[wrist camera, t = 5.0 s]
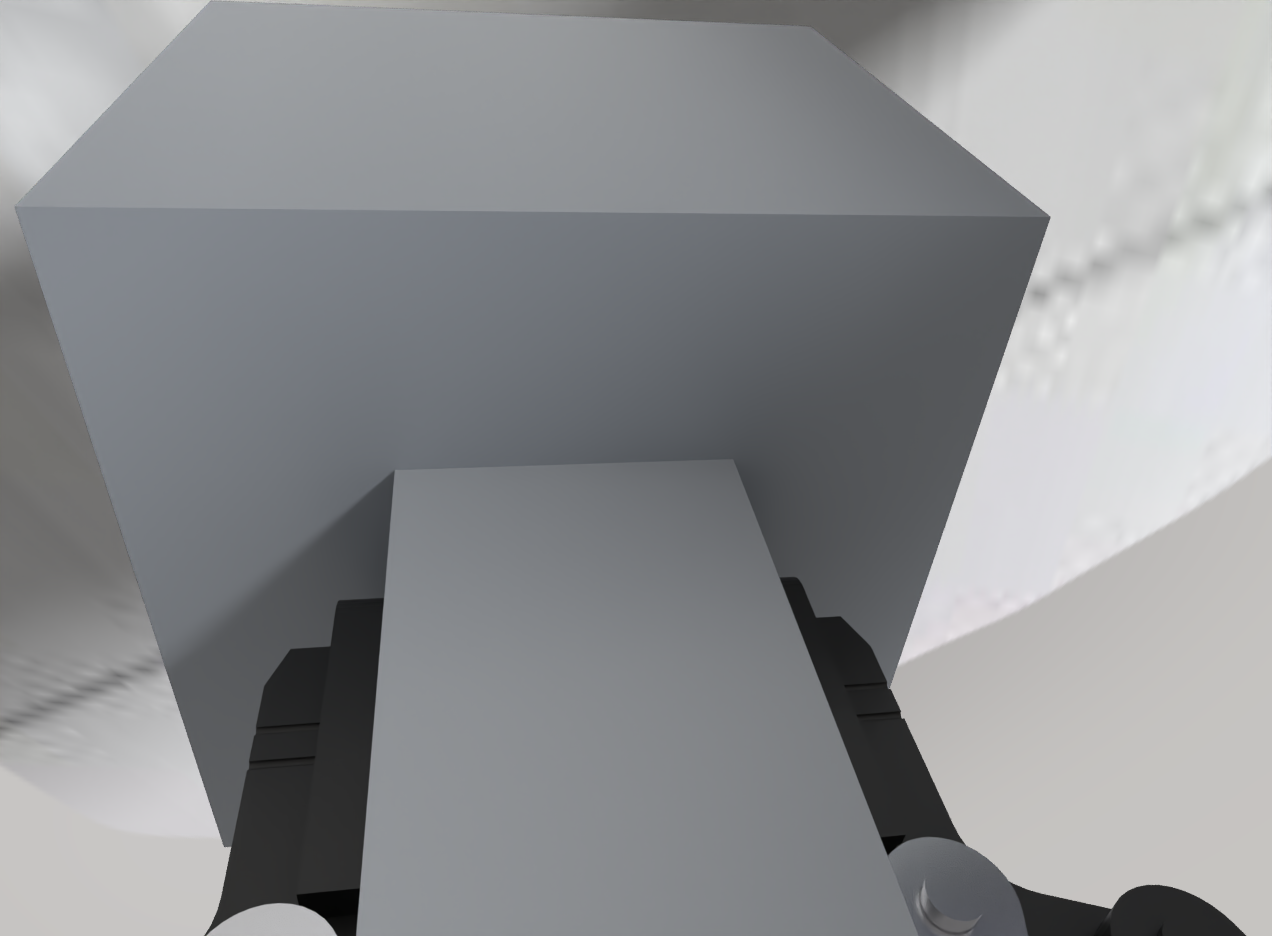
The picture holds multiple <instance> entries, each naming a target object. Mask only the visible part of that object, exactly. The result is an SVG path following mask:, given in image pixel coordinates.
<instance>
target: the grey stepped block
mask: <svg viewBox="0 0 1272 936" xmlns="http://www.w3.org/2000/svg"><path fill="white" fill-rule="evenodd" d="M15 209H16V212H17V215H18V219H19V222H20V225H21V228H22V231H23V234H24V237H25V240H26V243H27V246H28V249H29V252H30V255H31V258H32V261H33V264H34V267H35V270H36V274H37V277H38V280H39V283H40V286H41V289H42V292H43V295H44V298H45V301H46V304H47V307H48V310H49V313H50V316H51V319H52V322H53V326H54V329H55V332H56V335H57V338H58V341H59V344H60V347H61V350H62V353H63V356H64V359H65V362H66V365H67V368H68V371H69V374H70V377H71V381H72V384H73V387H74V390H75V393H76V396H77V399H78V402H79V405H80V408H81V411H82V414H83V417H84V420H85V423H86V426H87V429H88V432H89V436H90V439H91V442H92V445H93V448H94V451H95V454H96V457H97V460H98V463H99V466H100V469H101V472H102V475H103V478H104V481H105V484H106V488H107V491H108V494H109V497H110V500H111V503H112V506H113V509H114V512H115V515H116V518H117V521H118V524H119V527H120V530H121V533H122V536H123V539H124V543H125V546H126V549H127V552H128V555H129V558H130V561H131V564H132V567H133V570H134V573H135V576H136V579H137V582H138V585H139V588H140V591H141V595H142V598H143V601H144V604H145V607H146V610H147V613H148V616H149V619H150V622H151V625H152V628H153V631H154V634H155V637H156V640H157V643H158V646H159V650H160V653H161V656H162V659H163V662H164V665H165V668H166V671H167V674H168V677H169V680H170V683H171V686H172V689H173V692H174V695H175V698H176V701H177V705H178V708H179V711H180V714H181V717H182V720H183V723H184V726H185V729H186V732H187V735H188V738H189V741H190V744H191V747H192V750H193V753H194V757H195V760H196V763H197V766H198V769H199V772H200V775H201V778H202V781H203V784H204V787H205V790H206V793H207V796H208V799H209V802H210V805H211V808H212V812H213V815H214V818H215V821H216V824H217V827H218V830H219V833H220V836H221V839H222V842H223V845H224V847H232V842H233V837H234V832H235V827H236V822H237V817H238V812H239V807H240V802H241V797H242V792H243V787H244V782H245V777H246V773H247V770H249V758H250V753H251V748H252V743H253V738H254V735H256V723H257V718H258V713H259V708H260V703H261V699H262V694H263V689H264V685H265V684H266V682H267V681H268V680H269V678H270V677H271V675H272V674H273V673H274V671H275V670H276V669H277V667H278V666H279V664H280V663H281V662H282V660H283V659H284V657H285V656H286V655H287V653H288V652H289V650H290V649H296V648H312V647H329V646H331V638H332V631H333V624H334V617H335V610H336V605H337V602H338V601H339V600H352V599H370V598H384V607H383V619H382V631H381V643H380V655H379V667H378V679H377V691H376V703H375V715H374V727H373V739H372V751H371V763H370V775H369V787H368V799H367V812H366V824H365V836H364V848H363V860H362V872H361V884H360V896H359V908H358V920H357V932H356V936H918V933H917V931H916V928H915V925H914V923H913V920H912V918H911V915H910V913H909V910H908V907H907V905H906V902H905V900H904V897H903V895H902V892H901V889H900V887H899V884H898V882H897V879H896V877H895V874H894V871H893V869H892V866H891V864H890V861H889V859H888V856H887V853H886V851H885V848H884V846H883V843H882V841H881V838H880V835H879V833H878V830H877V828H876V825H875V823H874V820H873V817H872V815H871V812H870V810H869V807H868V805H867V802H866V799H865V797H864V794H863V792H862V789H861V787H860V784H859V781H858V779H857V776H856V774H855V771H854V769H853V766H852V763H851V761H850V758H849V756H848V753H847V751H846V748H845V745H844V743H843V740H842V738H841V735H840V733H839V730H838V727H837V725H836V722H835V720H834V717H833V715H832V712H831V709H830V707H829V704H828V702H827V699H826V697H825V694H824V691H823V689H822V686H821V684H820V681H819V679H818V676H817V673H816V671H815V668H814V666H813V663H812V661H811V658H810V655H809V653H808V650H807V648H806V645H805V643H804V640H803V637H802V635H801V632H800V630H799V627H798V625H797V622H796V619H795V617H794V614H793V612H792V609H791V607H790V604H789V601H788V599H787V596H786V594H785V591H784V589H783V586H782V583H781V581H780V578H779V577H796V578H798V579H799V580H800V582H801V583H802V585H803V587H804V590H805V592H806V594H807V597H808V599H809V602H810V604H811V607H812V609H813V611H814V614H815V616H816V618H819V617H836V616H841V617H842V618H843V619H844V620H845V621H846V622H847V623H848V624H849V625H850V626H851V627H852V628H853V629H854V630H855V631H856V632H857V633H858V634H859V635H860V636H861V637H862V638H863V639H864V640H865V641H866V642H867V643H868V644H869V645H870V646H871V648H872V650H873V652H874V654H875V656H876V658H877V661H878V663H879V665H880V667H881V669H882V671H883V674H884V676H885V678H886V680H887V687H888V689H889V688H890V685H891V683H892V680H893V677H894V674H895V671H896V668H897V665H898V662H899V659H900V656H901V653H902V650H903V647H904V645H905V642H906V639H907V636H908V633H909V630H910V627H911V624H912V621H913V618H914V615H915V612H916V609H917V607H918V604H919V601H920V598H921V595H922V592H923V589H924V586H925V583H926V580H927V577H928V574H929V571H930V568H931V566H932V563H933V560H934V557H935V554H936V551H937V548H938V545H939V542H940V539H941V536H942V533H943V530H944V528H945V525H946V522H947V519H948V516H949V513H950V510H951V507H952V504H953V501H954V498H955V495H956V492H957V489H958V487H959V484H960V481H961V478H962V475H963V472H964V469H965V466H966V463H967V460H968V457H969V454H970V451H971V449H972V446H973V443H974V440H975V437H976V434H977V431H978V428H979V425H980V422H981V419H982V416H983V413H984V410H985V408H986V405H987V402H988V399H989V396H990V393H991V390H992V387H993V384H994V381H995V378H996V375H997V372H998V370H999V367H1000V364H1001V361H1002V358H1003V355H1004V352H1005V349H1006V346H1007V343H1008V340H1009V337H1010V334H1011V331H1012V329H1013V326H1014V323H1015V320H1016V317H1017V314H1018V311H1019V308H1020V305H1021V302H1022V299H1023V296H1024V293H1025V291H1026V288H1027V285H1028V282H1029V279H1030V276H1031V273H1032V270H1033V267H1034V264H1035V261H1036V258H1037V255H1038V252H1039V250H1040V247H1041V244H1042V241H1043V238H1044V235H1045V232H1046V229H1047V226H1048V223H1049V220H1050V216H1049V215H1048V214H1046V213H1045V212H1044V211H1043V210H1041V209H1040V208H1039V207H1038V206H1036V205H1035V204H1034V203H1033V202H1031V201H1030V200H1029V199H1028V198H1026V197H1025V196H1024V195H1022V194H1021V193H1020V192H1019V191H1017V190H1016V189H1015V188H1014V187H1012V186H1011V185H1010V184H1009V183H1007V182H1006V181H1005V180H1004V179H1002V178H1001V177H1000V176H999V175H997V174H996V173H995V172H994V171H992V170H991V169H990V168H988V167H987V166H986V165H985V164H983V163H982V162H981V161H980V160H978V159H977V158H976V157H975V156H973V155H972V154H971V153H970V152H968V151H967V150H966V149H965V148H963V147H962V146H961V145H960V144H958V143H957V142H956V141H954V140H953V139H952V138H951V137H949V136H948V135H947V134H946V133H944V132H943V131H942V130H941V129H939V128H938V127H937V126H936V125H934V124H933V123H932V122H931V121H929V120H928V119H927V118H926V117H924V116H923V115H922V114H920V113H919V112H918V111H917V110H915V109H914V108H913V107H912V106H910V105H909V104H908V103H907V102H905V101H904V100H903V99H902V98H900V97H899V96H898V95H897V94H895V93H894V92H893V91H892V90H890V89H889V88H888V87H886V86H885V85H884V84H883V83H881V82H880V81H879V80H878V79H876V78H875V77H874V76H873V75H871V74H870V73H869V72H868V71H866V70H865V69H864V68H863V67H861V66H860V65H859V64H858V63H856V62H855V61H854V60H852V59H851V58H850V57H849V56H847V55H846V54H845V53H844V52H842V51H841V50H840V49H839V48H837V47H836V46H835V45H834V44H832V43H831V42H830V41H829V40H827V39H826V38H825V37H824V36H822V35H821V34H820V33H818V32H817V31H816V30H815V29H813V28H812V27H811V26H793V25H770V24H746V23H723V22H700V21H677V20H654V19H630V18H607V17H584V16H561V15H538V14H514V13H491V12H468V11H445V10H421V9H398V8H375V7H352V6H329V5H305V4H282V3H259V2H236V1H213V0H211V1H210V2H209V3H208V4H207V5H206V6H205V7H204V8H203V9H202V10H201V11H200V12H199V13H198V14H197V16H196V17H195V18H194V19H193V20H192V21H191V22H190V23H189V24H188V25H187V26H186V27H185V28H184V29H183V30H182V31H181V32H180V33H179V34H178V35H177V37H176V38H175V39H174V40H173V41H172V42H171V43H170V44H169V45H168V46H167V47H166V48H165V49H164V50H163V51H162V52H161V53H160V54H159V55H158V56H157V58H156V59H155V60H154V61H153V62H152V63H151V64H150V65H149V66H148V67H147V68H146V69H145V70H144V71H143V72H142V73H141V74H140V75H139V76H138V77H137V79H136V80H135V81H134V82H133V83H132V84H131V85H130V86H129V87H128V88H127V89H126V90H125V91H124V92H123V93H122V94H121V95H120V96H119V97H118V99H117V100H116V101H115V102H114V103H113V104H112V105H111V106H110V107H109V108H108V109H107V110H106V111H105V112H104V113H103V114H102V115H101V116H100V117H99V118H98V120H97V121H96V122H95V123H94V124H93V125H92V126H91V127H90V128H89V129H88V130H87V131H86V132H85V133H84V134H83V135H82V136H81V137H80V138H79V139H78V141H77V142H76V143H75V144H74V145H73V146H72V147H71V148H70V149H69V150H68V151H67V152H66V153H65V154H64V155H63V156H62V157H61V158H60V159H59V160H58V162H57V163H56V164H55V165H54V166H53V167H52V168H51V169H50V170H49V171H48V172H47V173H46V174H45V175H44V176H43V177H42V178H41V179H40V180H39V181H38V183H37V184H36V185H35V186H34V187H33V188H32V189H31V190H30V191H29V192H28V193H27V194H26V195H25V196H24V197H23V198H22V199H21V200H20V201H19V203H18V204H17V205H16V206H15Z"/></svg>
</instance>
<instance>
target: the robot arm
mask: <svg viewBox="0 0 1272 936" xmlns="http://www.w3.org/2000/svg"><path fill="white" fill-rule="evenodd" d="M779 578H780V581H781V583H782V586H783V589H784V591H785V594H786V596H787V599H788V601H789V604H790V607H791V609H792V612H793V614H794V617H795V619H796V622H797V625H798V627H799V630H800V632H801V635H802V637H803V640H804V643H805V645H806V648H807V650H808V653H809V655H810V658H811V661H812V663H813V666H814V668H815V671H816V673H817V676H818V679H819V681H820V684H821V686H822V689H823V691H824V694H825V697H826V699H827V702H828V704H829V707H830V709H831V712H832V715H833V717H834V720H835V722H836V725H837V727H838V730H839V733H840V735H841V738H842V740H843V743H844V745H845V748H846V751H847V753H848V756H849V758H850V761H851V763H852V766H853V769H854V771H855V774H856V776H857V779H858V781H859V784H860V787H861V789H862V792H863V794H864V797H865V799H866V802H867V805H868V807H869V810H870V812H871V815H872V817H873V820H874V823H875V825H876V828H877V830H878V833H879V835H880V838H881V841H882V843H883V846H884V848H885V851H886V853H887V856H888V859H889V861H890V864H891V866H892V869H893V871H894V874H895V877H896V879H897V882H898V884H899V887H900V889H901V892H902V895H903V897H904V900H905V902H906V905H907V907H908V910H909V913H910V915H911V918H912V920H913V923H914V925H915V928H916V931H917V933H918V936H1246V935H1245V934H1244V933H1243V932H1242V931H1241V930H1240V929H1239V928H1238V927H1237V926H1236V925H1235V924H1234V923H1233V922H1232V921H1230V920H1229V919H1228V918H1227V917H1226V916H1225V915H1224V914H1222V913H1221V912H1220V911H1218V910H1217V909H1216V908H1215V907H1213V906H1212V905H1210V904H1209V903H1207V902H1205V901H1204V900H1202V899H1200V898H1198V897H1196V896H1194V895H1192V894H1190V893H1187V892H1185V891H1182V890H1179V889H1176V888H1173V887H1168V886H1162V885H1145V886H1140V887H1136V888H1134V889H1131V890H1129V891H1127V892H1126V893H1125V894H1123V895H1122V896H1121V897H1120V898H1119V899H1118V901H1117V902H1116V904H1115V905H1114V907H1113V908H1112V909H1108V908H1104V907H1100V906H1095V905H1091V904H1086V903H1081V902H1077V901H1072V900H1068V899H1063V898H1059V897H1054V896H1050V895H1045V894H1040V893H1037V892H1033V891H1030V890H1027V889H1025V888H1022V887H1020V886H1017V885H1015V884H1013V883H1011V882H1009V881H1008V880H1007V878H1006V877H1005V876H1004V875H1003V873H1002V872H1001V871H1000V870H999V869H998V868H997V867H996V866H995V865H994V864H993V863H992V862H991V861H989V860H988V859H987V858H986V857H985V856H983V855H982V854H980V853H978V852H977V851H976V850H974V849H972V848H970V847H968V846H966V845H965V843H964V842H963V841H962V839H961V838H960V836H959V835H958V833H957V831H956V829H955V827H954V825H953V824H952V821H951V819H950V817H949V815H948V812H947V810H946V808H945V806H944V804H943V802H942V799H941V797H940V795H939V793H938V791H937V789H936V786H935V784H934V782H933V780H932V778H931V776H930V773H929V771H928V769H927V767H926V765H925V763H924V760H923V759H922V756H921V754H920V752H919V749H918V747H917V745H916V743H915V741H914V739H913V737H912V734H911V732H910V730H909V728H908V726H907V723H906V721H905V719H902V718H901V714H900V712H901V710H900V708H899V706H898V704H897V702H896V700H895V698H894V695H893V693H892V691H891V689H888V687H887V680H886V678H885V676H884V674H883V671H882V669H881V667H880V665H879V663H878V661H877V658H876V656H875V654H874V652H873V650H872V648H871V646H870V645H869V644H868V643H867V642H866V641H865V640H864V639H863V638H862V637H861V636H860V635H859V634H858V633H857V632H856V631H855V630H854V629H853V628H852V627H851V626H850V625H849V624H848V623H847V622H846V621H845V620H844V619H843V618H842V617H841V616H836V617H819V618H816V616H815V614H814V611H813V609H812V607H811V604H810V602H809V599H808V597H807V594H806V592H805V590H804V587H803V585H802V583H801V582H800V580H799V579H798V578H796V577H779ZM383 607H384V598H370V599H352V600H339V601H338V602H337V605H336V610H335V617H334V624H333V631H332V638H331V646H329V647H312V648H296V649H290V650H289V652H288V653H287V655H286V656H285V657H284V659H283V660H282V662H281V663H280V664H279V666H278V667H277V669H276V670H275V671H274V673H273V674H272V675H271V677H270V678H269V680H268V681H267V682H266V684H265V685H264V689H263V694H262V699H261V703H260V708H259V713H258V718H257V723H256V735H254V738H253V743H252V748H251V753H250V758H249V770H247V773H246V777H245V782H244V787H243V792H242V797H241V802H240V807H239V812H238V817H237V822H236V827H235V832H234V837H233V842H232V847H231V852H230V857H229V862H228V866H227V871H226V877H225V881H224V886H223V891H222V896H221V900H220V903H219V907H218V910H217V913H216V915H215V917H214V920H213V922H212V924H211V926H210V928H209V929H208V931H207V932H206V934H205V936H356V932H357V920H358V908H359V896H360V884H361V872H362V860H363V848H364V836H365V824H366V812H367V799H368V787H369V775H370V763H371V751H372V739H373V727H374V715H375V703H376V691H377V679H378V667H379V655H380V643H381V631H382V619H383Z"/></svg>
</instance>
